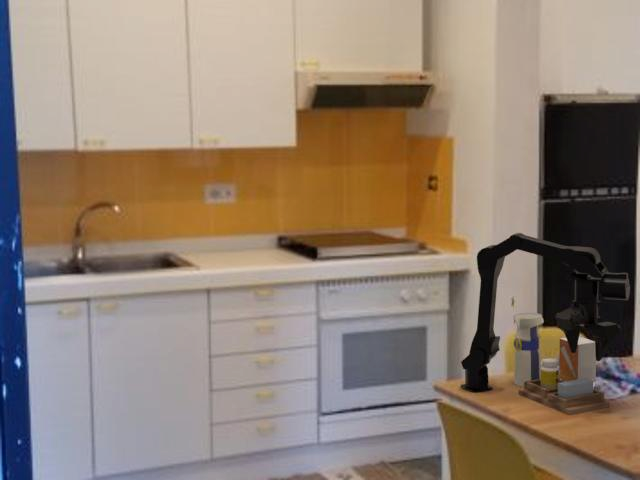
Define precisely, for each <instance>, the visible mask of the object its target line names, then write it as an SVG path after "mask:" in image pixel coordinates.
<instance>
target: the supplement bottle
mask: <svg viewBox="0 0 640 480" xmlns="http://www.w3.org/2000/svg"><path fill="white" fill-rule="evenodd" d="M558 365H559V363H558V359H556V358H551V357H548V358H543V359H541V387H543V388H546V389H552V388H558V383H559V366H558Z"/></svg>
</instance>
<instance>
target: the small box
mask: <svg viewBox="0 0 640 480" xmlns="http://www.w3.org/2000/svg"><path fill="white" fill-rule="evenodd" d="M558 358H559V363H558V365H559V366H558V368H559V379H561V380H563V381H572V380H577V379H582V378H587V379H590V380H592V381H593V382H596V381H597V379H596V377H597V375H596V374H597V373H596V372H597V361H596V352H595V341H594V340H591V339H589V338H585V337H582V336H579V339H578V345H577V349H576V352H575V353H571V350H570V347H569V344H568V341H567V338H566V337H560V338H559V357H558Z"/></svg>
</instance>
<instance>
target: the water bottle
mask: <svg viewBox="0 0 640 480" xmlns="http://www.w3.org/2000/svg"><path fill="white" fill-rule="evenodd" d="M514 297H515V295H512V297H511V304H510V305H511V307H513V309H514V308H515V302H516V300H515V298H514ZM512 317H513V322H514V323H513V324H516V332H515V335H514V338H515V339H513V348H514V349H515V350H514V371H513V374H514V375H513V384H514V385H516V386H518V387H524V382H526V381H532V380H537V379H541V367H542V353H541V349H540V339H541V335H540V333H539V326H540V325H542V324H544V322H545V320H544V318H543V316H542V314H541V313H536V312H519V313H516V314H514V315H513V316H512Z"/></svg>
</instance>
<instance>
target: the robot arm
mask: <svg viewBox="0 0 640 480" xmlns="http://www.w3.org/2000/svg"><path fill="white" fill-rule="evenodd" d="M515 251H522V252H524V253H525V252H526V253H530V254H533V255H537V256H539V257H544V258H547V259H551V260H555V261H558V262H561V263H563V264H564V265H566V266H567V267H569V268H571V269H573V270H572V272H571V273H570V274H569V275H568V276H567V277H566V279H567V280H568V281H574V300H571V301H570V305H569V308H567V309H563V310H562V311H561V312H557V313H556V314H555V315H554V316H553V325H555V326H556V328H558V329H559V330H560V331H562V332H563V334H564V335H565V338H567V341H568V344H569V347H570V350H571V353H575V352H576V349H577V345H578V339H579V337H580V334H581V333H580V332H581V330H582V329H581V328H585V329H588V330H591V333H592V334H593V335H591V339H593V341H594V342H595V352H596V362H600V361H601V360H602V359H603V358H604V355H605V353H606V351H607V349H608V347H609V345H610V344H611V342H612V341H613V339H615V338H617V336H620V335H621V326H620V325H619V324H618V323H616V322H615V323H614V322H611V321H603V322H602V317H601V316H599V307H600V306H602V305H603V303H602V301H600V300H599V295H600V296H601V297H603V299H604V300H616V301H617V300H618V301H619V300H620V301H628V300H629V298H630V295H631V284H630V280H629V274H628V272H609V270H608V268H607V267H606V266H605V265H604V263H603V262H602V261H601V255H600V253H599V252H598V250H597V249H596V248H593V247H588V246H580V245H579V246H576V245H575V246H573V245H572V246H569V245H563V244H561V243H560V244H559V243H556V242H552V241H548V240H544V239H541V238H537V237H533V236H529V235H526V234H524V233H522V232H516V233H514V234H511V235H510V236H509V237H508V238H506V239H505V240H503V241H501V242H499V243H497V244H491V245H488V246H486V247H484V248H481V249H480V250H479V251H478V252H477V255H476V264H477V265H476V266H477V272H478V274H479V278H480V286H479V288H480V289H479V297H478V309H477V311H478V312H477V322H476V324H477V325H476V330H475V333H474V336H473V338H472V340H471V344H470V349H469V354H468V355H467V356H466V357H465V358H463V359H462V361H460V363H461V366H462V369H463V370H464V371H465V372H464V376H465V378H464V379H465V380H464V382H465V383H464V384H460V387H461V388H463V389H465V390H467V391H470V392H472V393H477V392H482V391H488V390H489V391H490V390H493V389H494V388H493V387H494V386H491V385H489V368H488V366H487V365H488V364H490V362H491V360H492V359H494V357H496V356H497V354H498V352H499V351H500V341H501V336H499V335H497V336H496V334H495V331H494V329H495V328H494V326H495V325H494V324H495V313H496V303H497V290H498V289H497V287H498V279H499V276H500V275H501V272H502V270H503V266H504V262H505V258H506V257H508V256H509V255H510V254H512V253H514V252H515Z"/></svg>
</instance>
